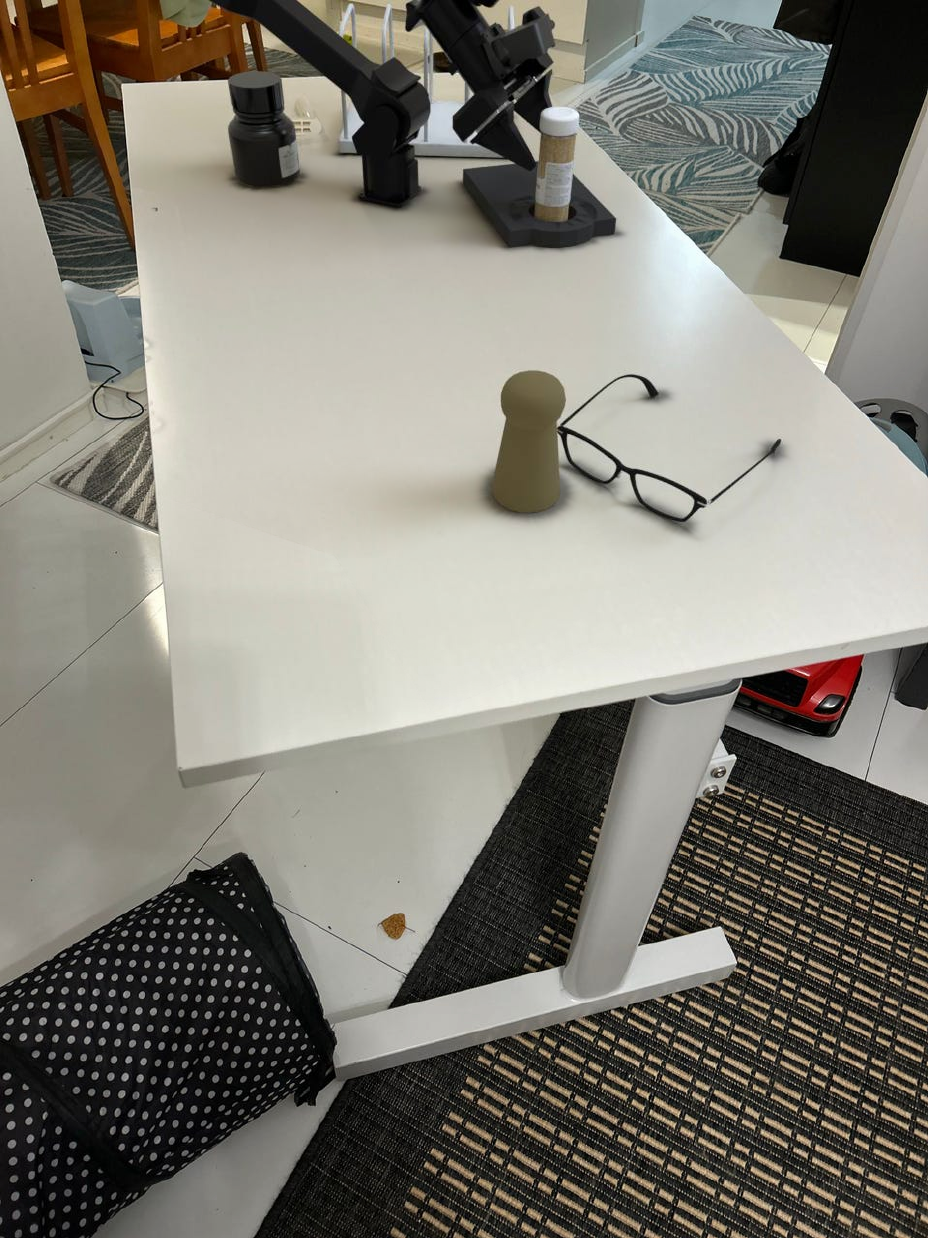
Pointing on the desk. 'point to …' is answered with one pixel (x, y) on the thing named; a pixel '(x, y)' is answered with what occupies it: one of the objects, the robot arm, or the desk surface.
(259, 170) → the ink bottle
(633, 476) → the eyeglasses
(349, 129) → the file sorter
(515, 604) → the desk surface
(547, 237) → the pad
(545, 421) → the olive game pawn
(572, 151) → the sprinkles bottle
